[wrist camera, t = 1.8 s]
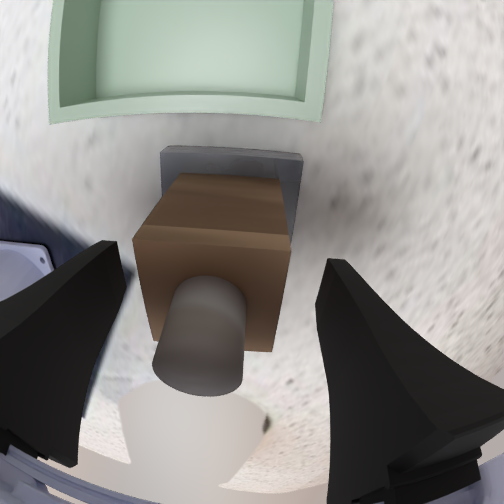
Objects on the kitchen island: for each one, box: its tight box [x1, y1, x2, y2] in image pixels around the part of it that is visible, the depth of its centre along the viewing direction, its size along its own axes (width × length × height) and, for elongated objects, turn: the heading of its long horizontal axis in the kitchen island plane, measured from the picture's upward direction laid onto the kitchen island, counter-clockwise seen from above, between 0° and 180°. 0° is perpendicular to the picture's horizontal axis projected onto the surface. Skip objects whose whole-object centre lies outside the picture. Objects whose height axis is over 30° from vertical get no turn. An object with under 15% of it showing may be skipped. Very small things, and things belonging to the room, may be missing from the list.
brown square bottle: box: [132, 173, 291, 396], centre depth 10 cm, size 4×4×8 cm
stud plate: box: [160, 146, 303, 246], centre depth 12 cm, size 6×6×5 cm
